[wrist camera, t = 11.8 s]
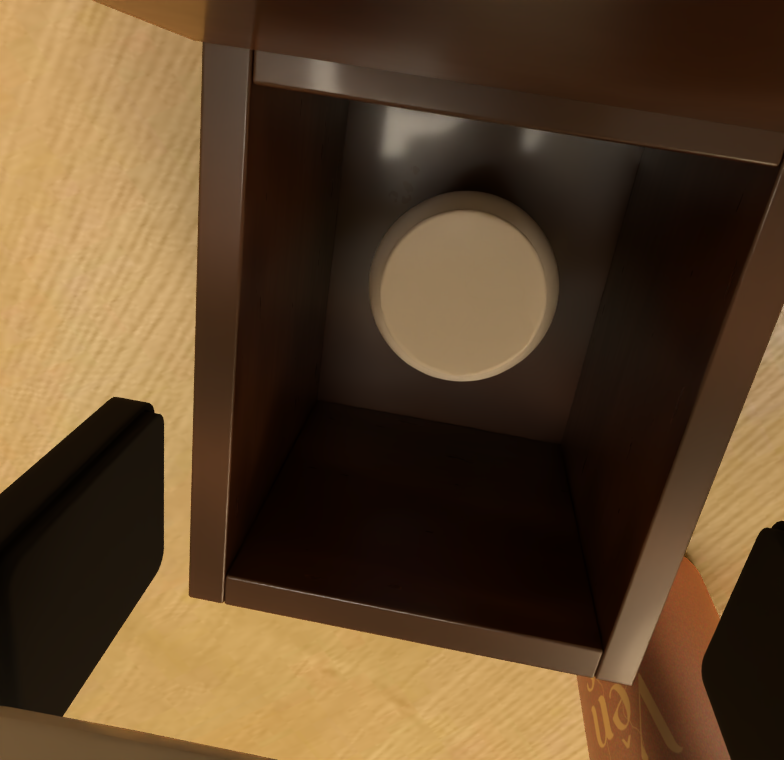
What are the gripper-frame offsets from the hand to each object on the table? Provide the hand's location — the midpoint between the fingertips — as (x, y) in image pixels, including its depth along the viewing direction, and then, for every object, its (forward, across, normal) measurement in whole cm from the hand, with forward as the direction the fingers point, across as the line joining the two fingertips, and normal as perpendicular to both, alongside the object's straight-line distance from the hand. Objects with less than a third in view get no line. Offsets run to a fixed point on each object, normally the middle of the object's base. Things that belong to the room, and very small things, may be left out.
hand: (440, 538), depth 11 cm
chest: (+17, 0, 0) cm, 17 cm away
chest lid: (-3, 0, -7) cm, 8 cm away
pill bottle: (+16, 0, 0) cm, 16 cm away
